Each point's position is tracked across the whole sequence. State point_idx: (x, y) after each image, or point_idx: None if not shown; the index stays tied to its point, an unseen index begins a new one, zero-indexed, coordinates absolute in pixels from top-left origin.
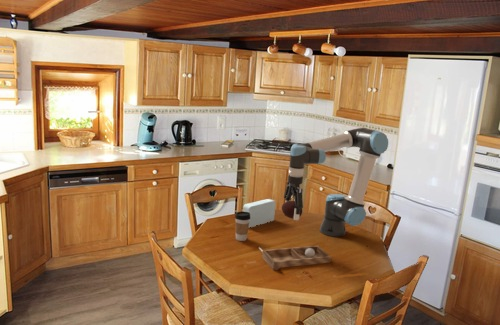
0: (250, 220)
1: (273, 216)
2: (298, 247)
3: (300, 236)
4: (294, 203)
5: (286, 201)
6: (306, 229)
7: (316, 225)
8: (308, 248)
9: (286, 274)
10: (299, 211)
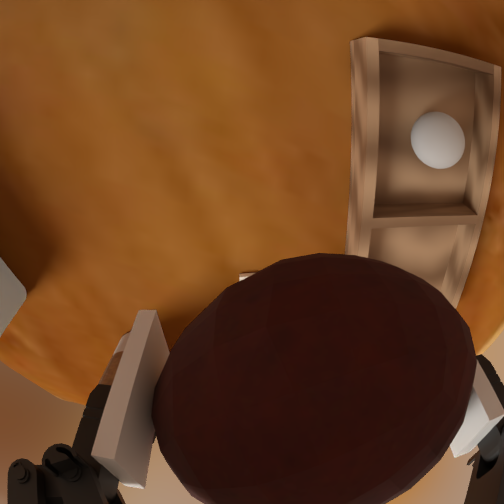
0: (5, 304)
1: None
2: (370, 176)
3: (92, 50)
4: (392, 499)
5: (142, 480)
6: (12, 6)
7: None
8: (445, 155)
9: (474, 280)
10: (500, 386)
